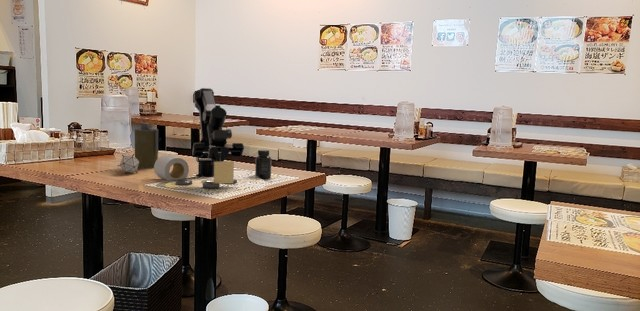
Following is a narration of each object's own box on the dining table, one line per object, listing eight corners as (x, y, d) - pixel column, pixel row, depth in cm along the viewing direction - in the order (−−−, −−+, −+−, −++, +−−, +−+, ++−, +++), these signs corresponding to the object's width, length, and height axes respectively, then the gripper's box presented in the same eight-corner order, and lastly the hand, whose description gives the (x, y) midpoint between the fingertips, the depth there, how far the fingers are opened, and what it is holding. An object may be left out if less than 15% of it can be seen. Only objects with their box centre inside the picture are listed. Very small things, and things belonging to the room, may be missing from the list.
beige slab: (204, 189, 174) (204, 163, 173) (201, 186, 180) (201, 160, 179) (234, 188, 179) (235, 162, 178) (231, 185, 184) (231, 160, 183)
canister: (129, 167, 222) (129, 123, 220) (143, 164, 232) (143, 122, 229) (149, 169, 219) (149, 124, 216) (163, 166, 229) (163, 123, 226)
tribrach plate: (170, 188, 180) (170, 182, 180) (202, 180, 199) (203, 174, 199) (211, 194, 174) (211, 187, 173) (241, 185, 192) (241, 179, 192)
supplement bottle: (273, 177, 213) (274, 150, 212) (267, 179, 207) (268, 151, 205) (258, 176, 215) (259, 148, 213) (252, 178, 208) (253, 150, 207)
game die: (124, 182, 207) (109, 163, 204) (136, 172, 214) (121, 154, 211) (138, 173, 203) (122, 154, 200) (149, 164, 210) (134, 145, 207)
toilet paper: (188, 182, 194) (189, 157, 193) (164, 184, 188) (164, 158, 186) (177, 178, 202) (177, 154, 200) (153, 180, 195) (154, 155, 194)
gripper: (193, 121, 180) (198, 154, 172) (243, 122, 188) (250, 154, 179) (190, 140, 188) (194, 173, 180) (238, 140, 196) (244, 172, 187)
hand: (221, 167), depth 181 cm, fingers closed
